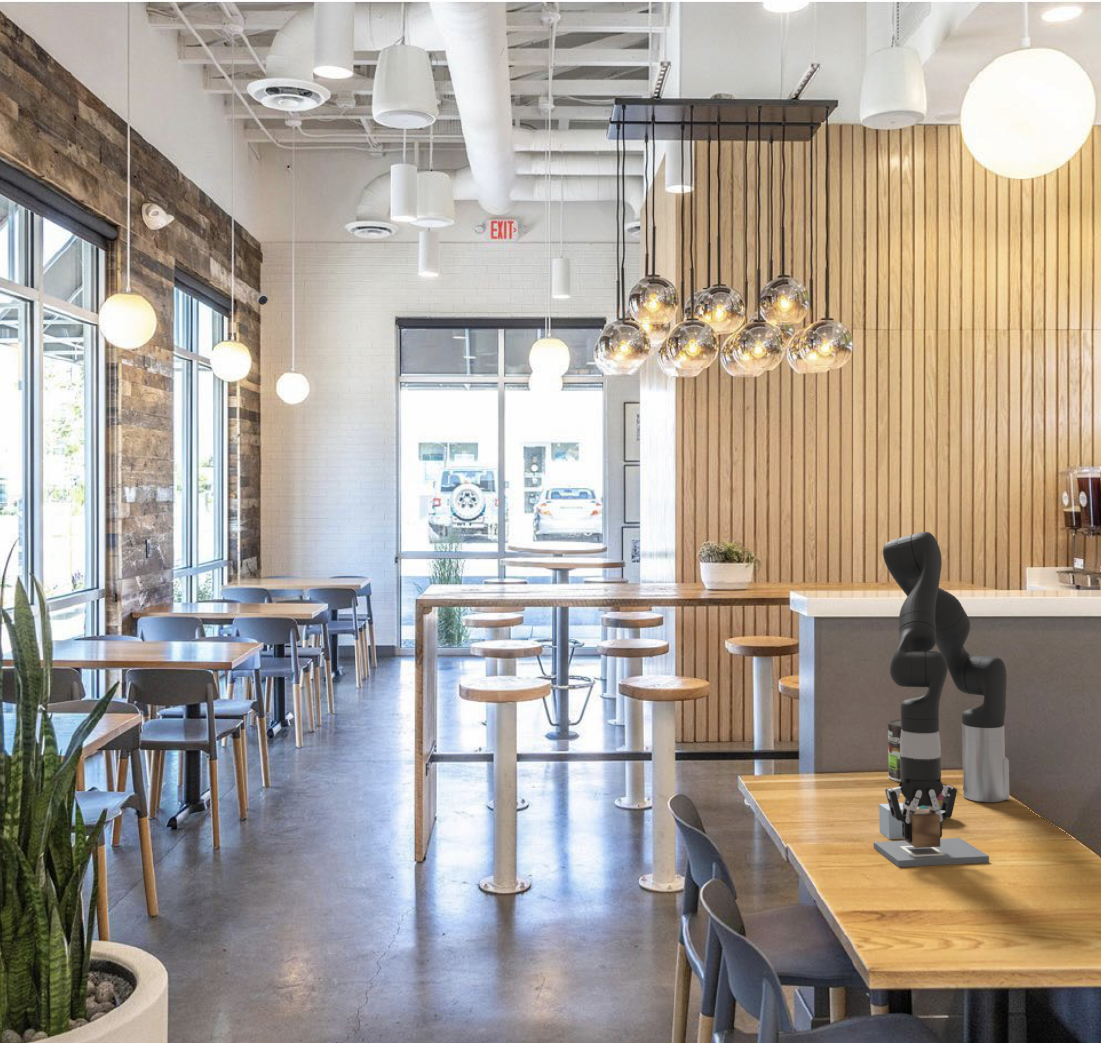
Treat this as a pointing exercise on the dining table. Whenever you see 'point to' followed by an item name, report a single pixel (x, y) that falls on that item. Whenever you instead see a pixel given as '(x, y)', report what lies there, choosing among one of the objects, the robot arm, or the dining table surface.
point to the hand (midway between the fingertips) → (922, 840)
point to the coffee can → (894, 749)
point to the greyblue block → (889, 822)
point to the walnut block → (925, 829)
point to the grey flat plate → (931, 853)
